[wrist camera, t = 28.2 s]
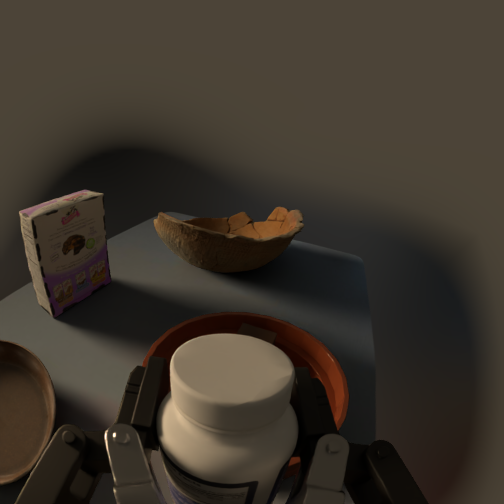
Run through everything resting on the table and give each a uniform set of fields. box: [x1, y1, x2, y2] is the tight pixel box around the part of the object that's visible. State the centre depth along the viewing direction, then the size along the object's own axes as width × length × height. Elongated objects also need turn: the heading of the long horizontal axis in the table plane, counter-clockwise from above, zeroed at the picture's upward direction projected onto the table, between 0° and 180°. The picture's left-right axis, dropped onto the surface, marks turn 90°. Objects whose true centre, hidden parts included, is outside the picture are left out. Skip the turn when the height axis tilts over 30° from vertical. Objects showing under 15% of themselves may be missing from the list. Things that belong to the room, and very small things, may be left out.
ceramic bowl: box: [154, 207, 304, 273], centre depth 57 cm, size 30×27×15 cm
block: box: [236, 323, 277, 345], centre depth 33 cm, size 4×4×4 cm
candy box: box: [19, 190, 111, 318], centre depth 37 cm, size 14×6×16 cm, turn 157°
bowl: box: [142, 312, 349, 479], centre depth 27 cm, size 21×21×6 cm
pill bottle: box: [156, 334, 299, 504], centre depth 9 cm, size 5×5×10 cm
